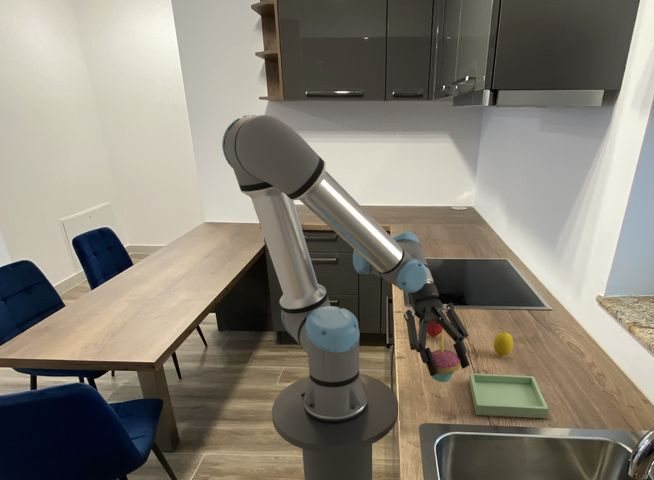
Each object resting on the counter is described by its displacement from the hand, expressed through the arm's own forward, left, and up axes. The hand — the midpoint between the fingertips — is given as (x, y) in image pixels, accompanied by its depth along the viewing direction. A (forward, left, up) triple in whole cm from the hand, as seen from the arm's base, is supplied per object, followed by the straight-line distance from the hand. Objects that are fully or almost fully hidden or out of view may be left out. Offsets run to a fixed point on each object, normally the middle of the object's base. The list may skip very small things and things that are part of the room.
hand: (450, 370), depth 108 cm
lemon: (+18, +25, -9) cm, 32 cm away
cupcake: (-2, +3, -4) cm, 5 cm away
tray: (+15, +2, -9) cm, 17 cm away
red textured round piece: (-2, +36, -9) cm, 37 cm away
